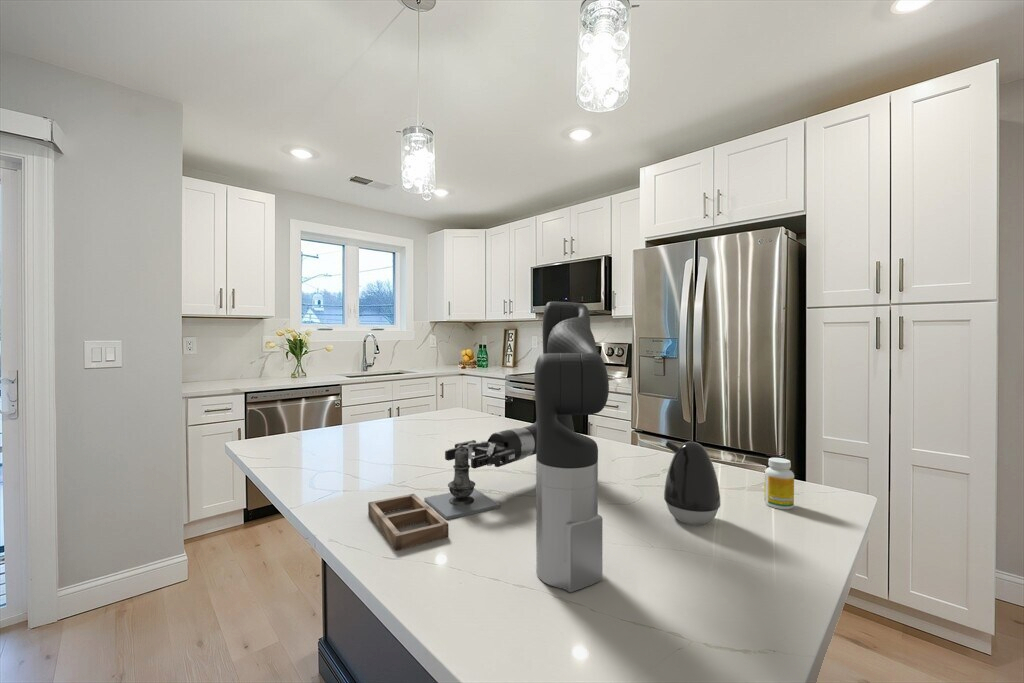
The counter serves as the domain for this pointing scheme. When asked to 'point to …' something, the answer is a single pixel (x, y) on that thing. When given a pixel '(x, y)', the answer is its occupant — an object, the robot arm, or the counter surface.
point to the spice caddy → (407, 521)
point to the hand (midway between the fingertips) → (458, 459)
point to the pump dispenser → (691, 485)
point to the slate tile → (453, 511)
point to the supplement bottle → (779, 484)
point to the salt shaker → (461, 480)
